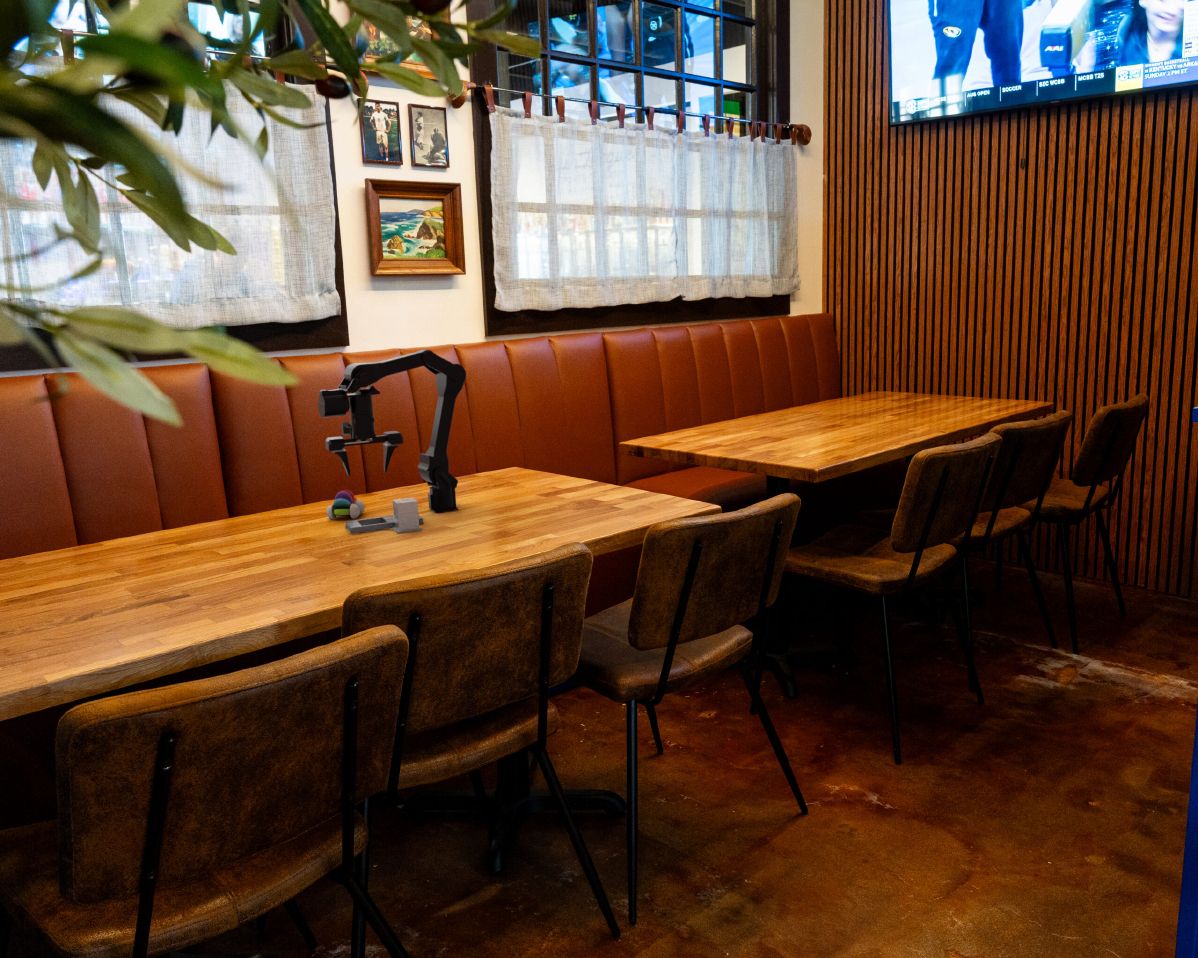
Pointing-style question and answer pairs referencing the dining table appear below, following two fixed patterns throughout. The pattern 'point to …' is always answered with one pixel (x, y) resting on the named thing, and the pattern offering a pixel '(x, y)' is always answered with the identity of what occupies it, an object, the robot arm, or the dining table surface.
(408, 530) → the pad
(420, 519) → the plate with rectangular hole
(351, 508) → the rainbow dome toy
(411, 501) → the brushed metal block
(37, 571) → the dining table surface
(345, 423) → the robot arm
